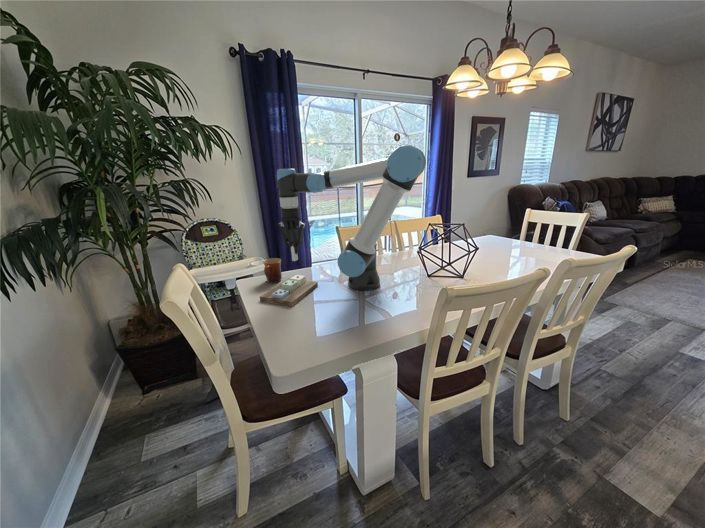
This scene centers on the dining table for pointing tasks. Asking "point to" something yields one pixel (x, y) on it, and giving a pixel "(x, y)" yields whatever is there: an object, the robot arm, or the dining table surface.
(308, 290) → the board
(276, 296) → the tile three
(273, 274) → the mug
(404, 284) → the dining table surface
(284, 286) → the tile two
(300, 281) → the tile one
